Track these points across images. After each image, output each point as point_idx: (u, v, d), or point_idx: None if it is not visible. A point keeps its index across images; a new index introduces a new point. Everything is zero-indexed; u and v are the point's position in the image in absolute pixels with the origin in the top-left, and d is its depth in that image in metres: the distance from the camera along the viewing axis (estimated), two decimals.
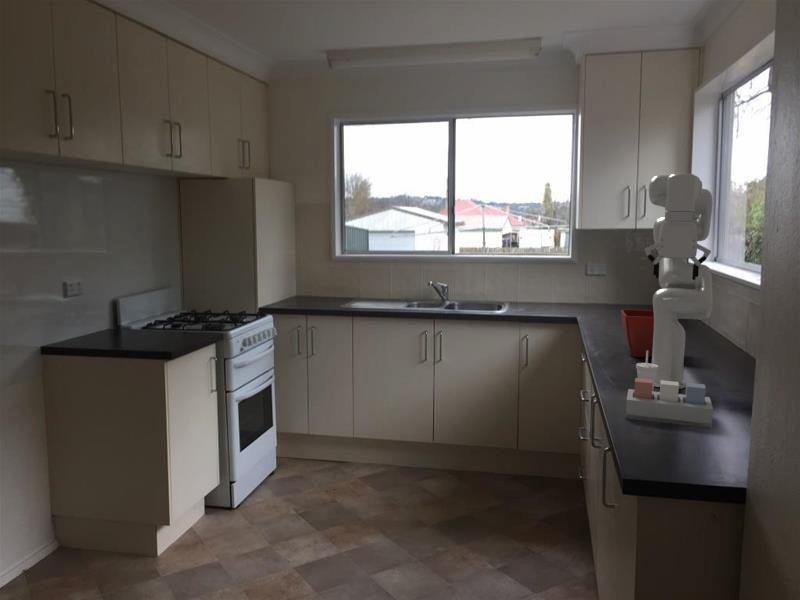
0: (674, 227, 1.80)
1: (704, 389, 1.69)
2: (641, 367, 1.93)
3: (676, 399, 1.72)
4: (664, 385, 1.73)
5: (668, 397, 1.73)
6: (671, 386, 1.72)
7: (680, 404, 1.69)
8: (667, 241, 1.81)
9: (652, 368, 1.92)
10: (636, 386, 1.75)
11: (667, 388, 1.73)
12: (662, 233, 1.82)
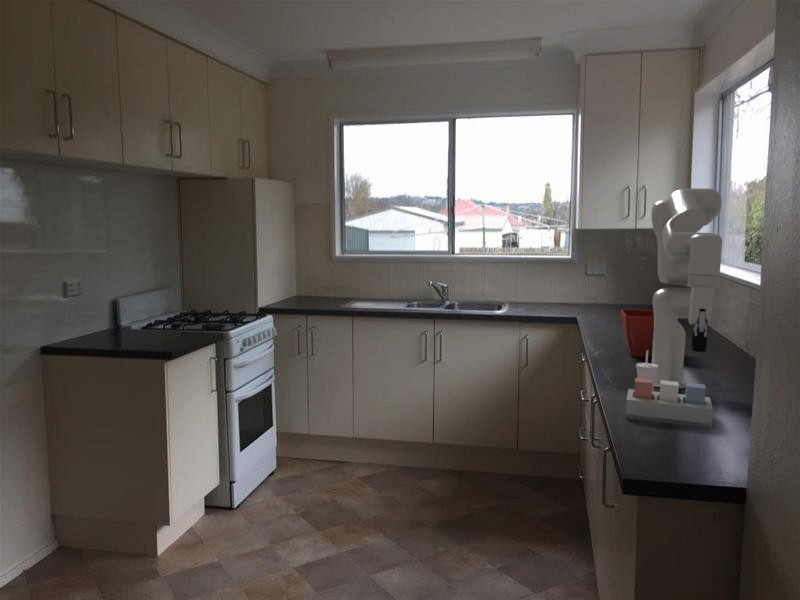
0: None
1: (704, 389, 1.69)
2: (641, 367, 1.93)
3: (676, 399, 1.72)
4: (664, 385, 1.73)
5: (668, 397, 1.73)
6: (671, 386, 1.72)
7: (680, 404, 1.69)
8: None
9: (652, 368, 1.92)
10: (636, 386, 1.75)
11: (667, 388, 1.73)
12: (711, 299, 1.64)
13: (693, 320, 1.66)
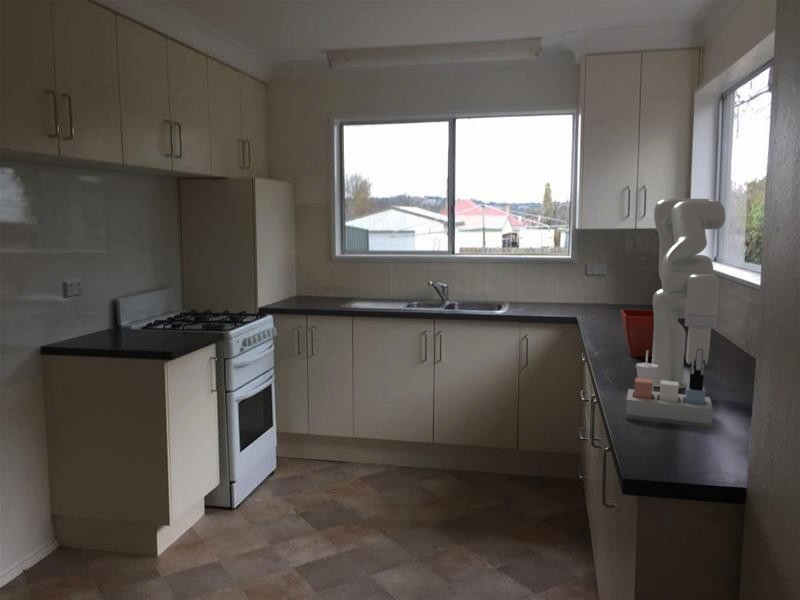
0: (710, 331, 1.68)
1: (704, 392, 1.69)
2: (641, 367, 1.93)
3: (676, 399, 1.72)
4: (664, 385, 1.73)
5: (668, 397, 1.73)
6: (671, 386, 1.72)
7: (680, 404, 1.69)
8: None
9: (652, 368, 1.92)
10: (636, 386, 1.75)
11: (667, 388, 1.73)
12: (709, 340, 1.66)
13: (690, 360, 1.67)
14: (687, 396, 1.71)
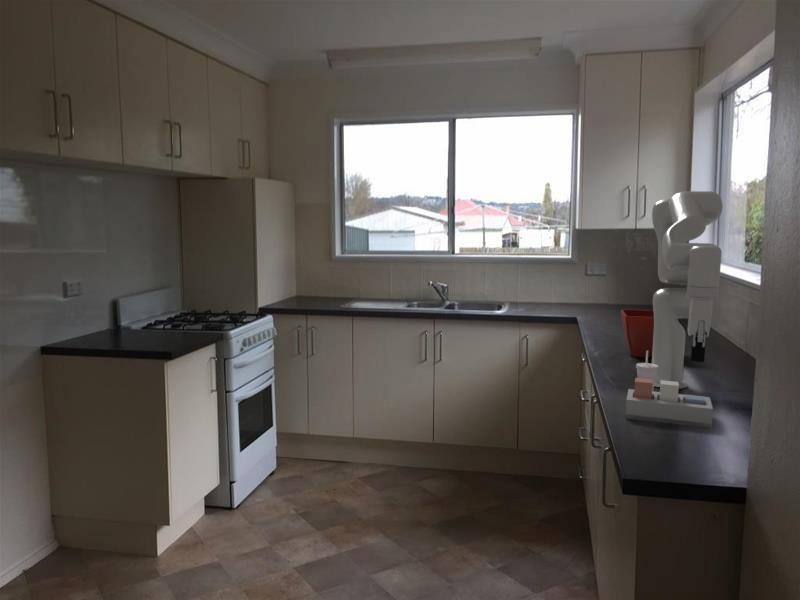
0: (712, 303, 1.67)
1: (703, 401, 1.70)
2: (641, 367, 1.93)
3: (676, 399, 1.72)
4: (664, 385, 1.73)
5: (668, 397, 1.73)
6: (671, 386, 1.72)
7: (680, 404, 1.69)
8: None
9: (652, 368, 1.92)
10: (636, 386, 1.75)
11: (667, 388, 1.73)
12: (710, 311, 1.65)
13: (692, 332, 1.66)
14: None
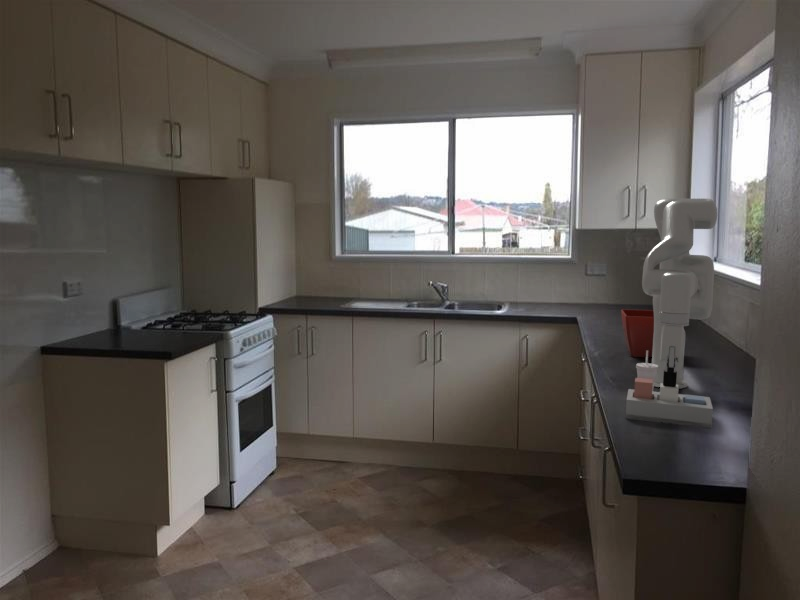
0: (683, 329, 1.70)
1: (703, 401, 1.70)
2: (641, 367, 1.93)
3: None
4: (664, 388, 1.73)
5: (667, 400, 1.73)
6: (671, 389, 1.72)
7: (680, 404, 1.69)
8: (681, 345, 1.69)
9: (652, 368, 1.92)
10: (636, 386, 1.75)
11: (667, 391, 1.73)
12: (681, 337, 1.68)
13: (663, 357, 1.69)
14: None
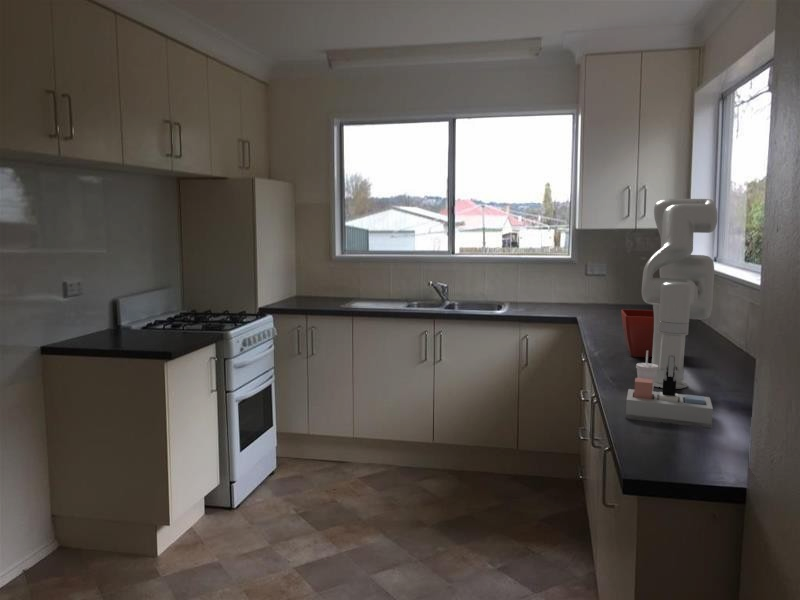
0: (682, 338, 1.71)
1: (703, 401, 1.70)
2: (641, 367, 1.93)
3: None
4: (663, 397, 1.73)
5: None
6: (670, 398, 1.73)
7: (680, 404, 1.69)
8: (681, 354, 1.70)
9: (652, 368, 1.92)
10: (636, 386, 1.75)
11: (666, 400, 1.73)
12: (680, 347, 1.68)
13: (663, 366, 1.70)
14: None
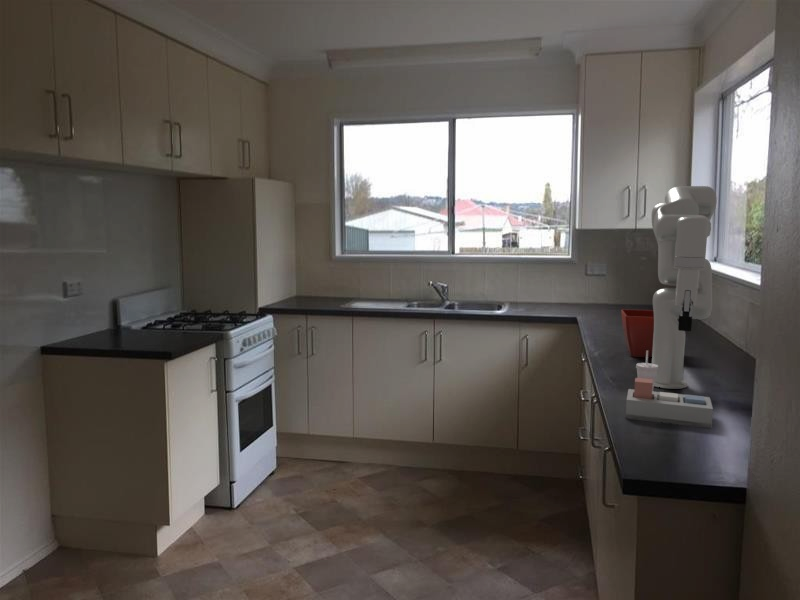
0: None
1: (703, 401, 1.70)
2: (641, 367, 1.93)
3: None
4: (663, 397, 1.73)
5: None
6: (670, 398, 1.73)
7: (680, 404, 1.69)
8: (697, 289, 1.70)
9: (652, 368, 1.92)
10: (636, 386, 1.75)
11: (666, 400, 1.73)
12: (697, 281, 1.68)
13: (679, 301, 1.70)
14: None
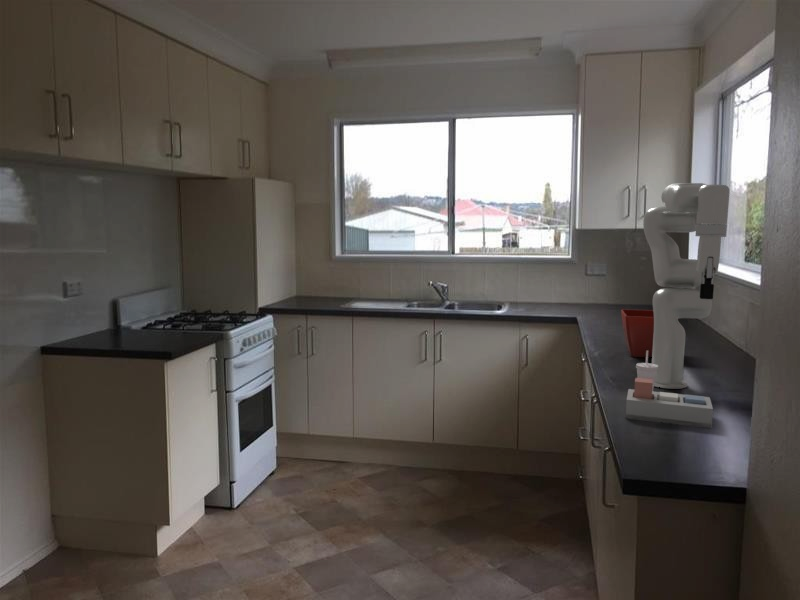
0: None
1: (703, 401, 1.70)
2: (641, 367, 1.93)
3: None
4: (663, 397, 1.73)
5: None
6: (670, 398, 1.73)
7: (680, 404, 1.69)
8: (719, 256, 1.71)
9: (652, 368, 1.92)
10: (636, 386, 1.75)
11: (666, 400, 1.73)
12: (719, 248, 1.70)
13: (701, 268, 1.71)
14: None
